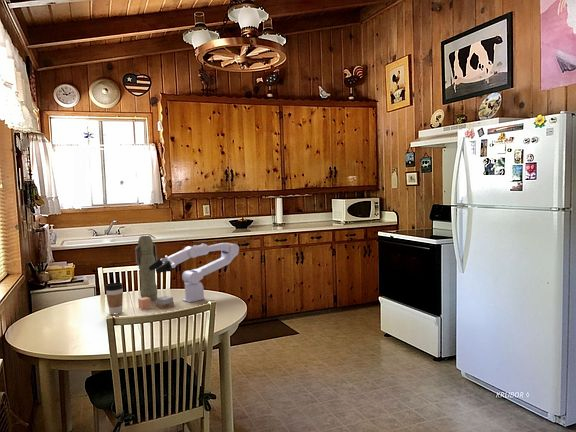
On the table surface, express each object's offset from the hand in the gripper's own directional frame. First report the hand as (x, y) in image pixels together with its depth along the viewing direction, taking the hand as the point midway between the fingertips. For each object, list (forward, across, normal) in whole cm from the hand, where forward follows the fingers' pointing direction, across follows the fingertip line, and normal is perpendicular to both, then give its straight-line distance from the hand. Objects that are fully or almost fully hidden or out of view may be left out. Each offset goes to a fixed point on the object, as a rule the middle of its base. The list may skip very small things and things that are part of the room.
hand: (152, 270), depth 234 cm
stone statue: (0, -20, +22) cm, 30 cm away
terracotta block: (+9, -4, +18) cm, 21 cm away
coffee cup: (+22, -7, +15) cm, 28 cm away
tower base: (+1, +1, +21) cm, 21 cm away
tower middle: (0, +1, +19) cm, 19 cm away
